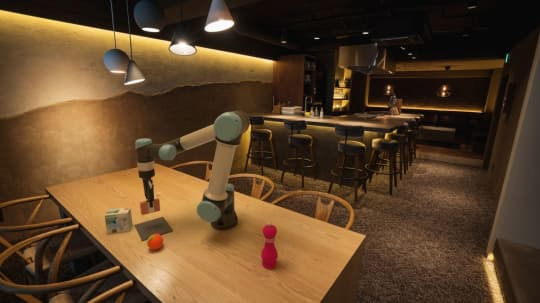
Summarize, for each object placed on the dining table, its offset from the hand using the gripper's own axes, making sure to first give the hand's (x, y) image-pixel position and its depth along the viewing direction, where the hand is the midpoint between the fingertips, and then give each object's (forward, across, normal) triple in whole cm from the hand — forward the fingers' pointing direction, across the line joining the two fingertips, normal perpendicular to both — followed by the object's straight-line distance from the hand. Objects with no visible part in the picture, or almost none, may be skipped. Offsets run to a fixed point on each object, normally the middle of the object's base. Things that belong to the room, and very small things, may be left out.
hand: (150, 211), depth 131 cm
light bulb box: (+10, +8, +14) cm, 19 cm away
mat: (+10, -1, 0) cm, 10 cm away
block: (+1, 0, 0) cm, 1 cm away
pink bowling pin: (+10, -61, -32) cm, 70 cm away
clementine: (+10, -20, +4) cm, 23 cm away
